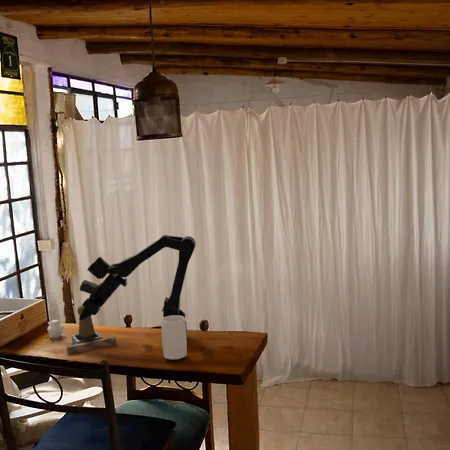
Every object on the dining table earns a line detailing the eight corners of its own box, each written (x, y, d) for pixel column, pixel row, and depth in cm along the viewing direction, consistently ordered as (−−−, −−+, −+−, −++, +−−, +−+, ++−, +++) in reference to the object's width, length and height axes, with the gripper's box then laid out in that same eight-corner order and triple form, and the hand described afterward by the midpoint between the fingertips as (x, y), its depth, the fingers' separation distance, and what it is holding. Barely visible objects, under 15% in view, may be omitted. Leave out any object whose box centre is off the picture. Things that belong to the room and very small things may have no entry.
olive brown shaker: (84, 337, 207) (81, 309, 205) (75, 334, 211) (72, 306, 209) (98, 333, 211) (95, 305, 209) (89, 330, 215) (86, 302, 214)
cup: (174, 352, 197) (171, 313, 195) (192, 356, 192) (190, 316, 190) (158, 360, 190) (155, 320, 188) (176, 364, 185) (174, 323, 183)
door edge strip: (115, 342, 210) (114, 336, 210) (116, 343, 208) (116, 337, 208) (67, 352, 201) (66, 346, 201) (68, 354, 200) (67, 347, 199)
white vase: (62, 338, 217) (60, 321, 216) (46, 339, 217) (44, 322, 216) (66, 333, 223) (64, 316, 222) (50, 334, 223) (49, 317, 222)
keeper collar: (95, 336, 218) (95, 330, 217) (102, 343, 210) (101, 336, 209) (72, 341, 213) (71, 335, 213) (77, 348, 205) (77, 341, 205)
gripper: (97, 268, 217) (71, 297, 218) (85, 279, 198) (57, 310, 200) (119, 286, 218) (93, 315, 220) (109, 299, 199) (81, 330, 201)
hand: (81, 317), depth 210 cm, fingers closed on olive brown shaker, 5 cm apart
